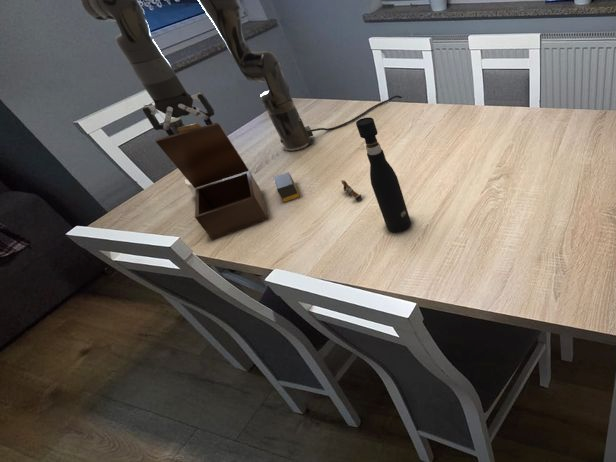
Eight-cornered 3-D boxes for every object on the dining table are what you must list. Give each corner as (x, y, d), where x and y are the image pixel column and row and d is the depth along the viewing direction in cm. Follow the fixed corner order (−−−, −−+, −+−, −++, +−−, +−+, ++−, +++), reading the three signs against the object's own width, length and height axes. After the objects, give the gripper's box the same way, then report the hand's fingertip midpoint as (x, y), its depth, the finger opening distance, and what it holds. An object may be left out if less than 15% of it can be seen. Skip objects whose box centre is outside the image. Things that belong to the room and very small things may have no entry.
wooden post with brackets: (345, 186, 123) (344, 177, 119) (362, 203, 121) (361, 194, 117) (340, 189, 122) (338, 180, 118) (357, 206, 120) (356, 197, 116)
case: (268, 219, 115) (254, 197, 110) (211, 239, 110) (194, 217, 105) (262, 192, 126) (249, 171, 121) (210, 210, 121) (195, 188, 116)
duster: (295, 184, 128) (288, 171, 125) (299, 196, 122) (292, 183, 119) (280, 189, 127) (273, 176, 124) (284, 202, 121) (276, 189, 118)
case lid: (218, 123, 107) (215, 112, 109) (155, 141, 102) (153, 129, 104) (249, 170, 121) (245, 159, 123) (194, 188, 116) (192, 176, 118)
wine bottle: (388, 219, 110) (352, 116, 90) (411, 216, 110) (381, 113, 90) (385, 234, 105) (347, 129, 85) (410, 231, 105) (376, 125, 85)
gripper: (122, 89, 95) (165, 149, 106) (189, 73, 100) (224, 132, 110) (126, 80, 100) (167, 139, 111) (190, 66, 105) (223, 123, 116)
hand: (195, 136), depth 111 cm, fingers open, 8 cm apart
